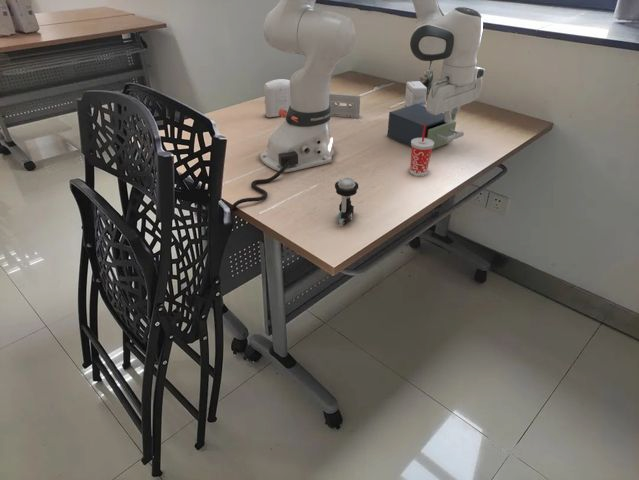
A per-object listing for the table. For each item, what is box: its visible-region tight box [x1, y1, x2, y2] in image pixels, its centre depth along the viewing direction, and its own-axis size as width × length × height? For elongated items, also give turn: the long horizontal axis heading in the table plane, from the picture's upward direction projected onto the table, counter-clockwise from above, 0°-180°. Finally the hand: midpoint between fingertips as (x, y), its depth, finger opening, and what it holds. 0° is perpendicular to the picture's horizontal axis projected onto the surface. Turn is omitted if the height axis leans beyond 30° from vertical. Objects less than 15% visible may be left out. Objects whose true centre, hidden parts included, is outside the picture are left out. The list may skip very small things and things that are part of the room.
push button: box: [334, 177, 359, 227], centre depth 104 cm, size 7×5×10 cm
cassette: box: [329, 92, 361, 119], centre depth 159 cm, size 12×2×8 cm, turn 76°
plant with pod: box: [417, 61, 434, 107], centre depth 165 cm, size 8×11×20 cm
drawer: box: [425, 120, 465, 150], centre depth 139 cm, size 18×11×6 cm, turn 38°
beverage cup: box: [409, 124, 434, 177], centre depth 122 cm, size 6×6×14 cm
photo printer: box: [263, 78, 290, 119], centre depth 159 cm, size 10×4×12 cm, turn 116°
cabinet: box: [386, 104, 445, 148], centre depth 142 cm, size 15×13×8 cm
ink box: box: [403, 80, 427, 108], centre depth 156 cm, size 9×5×12 cm, turn 8°
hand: (449, 121), depth 133 cm, fingers closed
